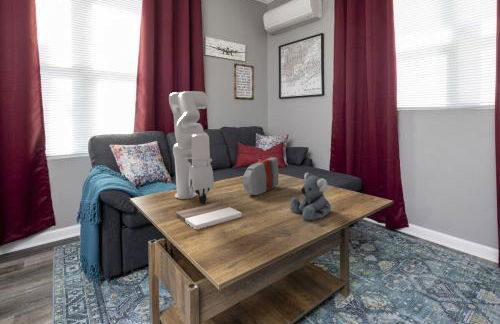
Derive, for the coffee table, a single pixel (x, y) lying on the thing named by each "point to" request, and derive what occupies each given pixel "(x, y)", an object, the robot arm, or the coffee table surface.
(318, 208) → the koala plush
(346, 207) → the coffee table surface
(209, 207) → the walnut plank
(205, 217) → the off-white plank
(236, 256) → the coffee table surface
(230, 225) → the coffee table surface
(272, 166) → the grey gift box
